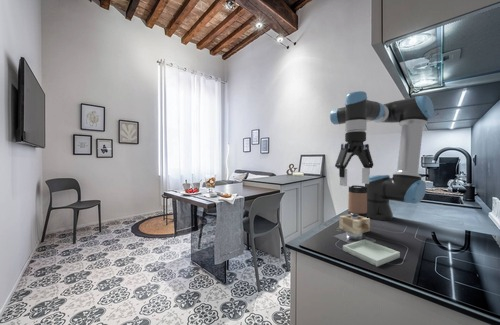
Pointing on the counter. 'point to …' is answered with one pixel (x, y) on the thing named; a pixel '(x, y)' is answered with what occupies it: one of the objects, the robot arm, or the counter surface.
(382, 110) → the robot arm
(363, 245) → the tray
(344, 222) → the hollow wooden box
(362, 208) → the travel mug
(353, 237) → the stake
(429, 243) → the counter surface
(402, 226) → the counter surface
